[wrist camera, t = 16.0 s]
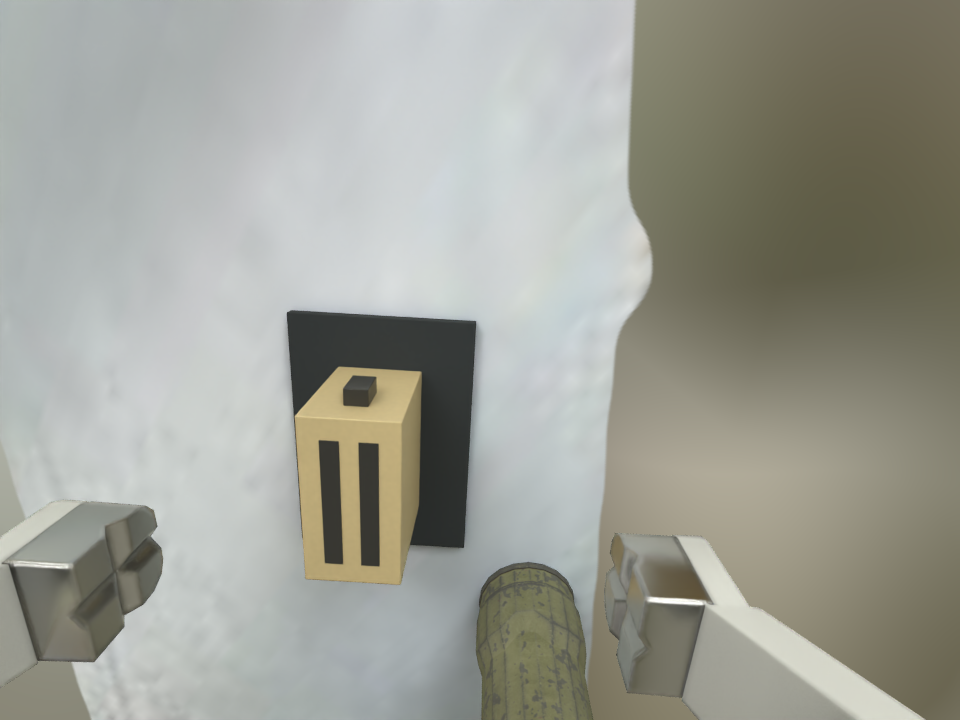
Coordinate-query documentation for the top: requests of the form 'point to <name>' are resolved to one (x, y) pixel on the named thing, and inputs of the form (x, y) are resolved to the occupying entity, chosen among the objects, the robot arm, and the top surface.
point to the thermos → (531, 647)
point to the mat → (444, 396)
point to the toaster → (359, 474)
